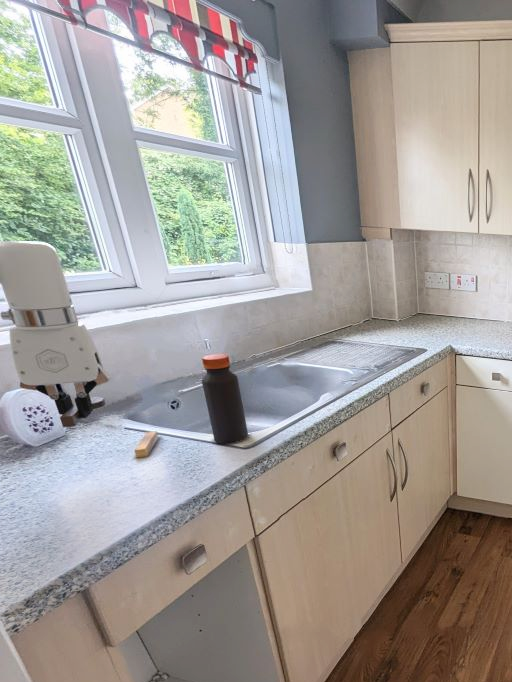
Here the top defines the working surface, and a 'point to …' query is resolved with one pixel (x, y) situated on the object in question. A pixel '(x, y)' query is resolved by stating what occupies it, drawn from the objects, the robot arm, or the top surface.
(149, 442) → the wooden bar
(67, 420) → the spoon
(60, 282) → the robot arm
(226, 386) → the bottle
